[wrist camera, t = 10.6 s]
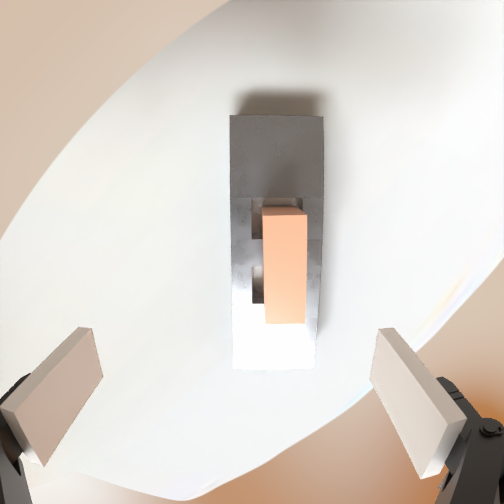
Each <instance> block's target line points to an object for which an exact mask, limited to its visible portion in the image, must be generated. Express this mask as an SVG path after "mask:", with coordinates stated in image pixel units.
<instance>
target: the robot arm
mask: <svg viewBox="0 0 504 504" xmlns="http://www.w3.org/2000/svg"><path fill="white" fill-rule="evenodd" d="M102 378H103V373H102V370H101V366H100V362H99V358H98V354H97V350H96V345H95V341H94V337H93V332H92V328H83V327H78V328H77V329H76V330H75V331H74V332H73V333H72V334H71V335H70V336H69V337H68V338H67V339H66V340H65V341H63V342H62V343H61V344H60V345H59V346H58V347H57V348H56V349H55V350H54V351H53V352H52V353H51V354H50V355H49V356H48V357H47V358H46V359H45V360H44V361H43V362H42V363H41V364H40V365H39V366H38V367H37V368H36V369H35V370H34V371H33V372H32V373H29V374H27V375H25V376H23V377H22V378H20V379H19V380H18V381H17V382H16V383H15V384H14V386H12V387H11V388H10V389H9V392H8V391H7V392H6V393H5V394H4V395H3V397H2V398H1V399H0V504H32V501H31V497H30V493H29V489H28V485H27V481H26V477H25V473H24V468H23V464H22V461H21V459H20V458H19V456H20V454H21V453H22V452H23V453H24V454H25V456H26V458H27V459H28V461H29V462H31V463H34V464H36V465H39V466H42V467H45V465H46V463H47V462H48V460H49V459H50V457H51V455H52V454H53V452H54V451H55V449H56V448H57V446H58V444H59V443H60V441H61V440H62V438H63V437H64V435H65V433H66V432H67V430H68V429H69V427H70V426H71V424H72V423H73V421H74V420H75V418H76V417H77V415H78V414H79V412H80V410H81V409H82V407H83V406H84V404H85V403H86V401H87V400H88V399H89V397H90V396H91V394H92V393H93V391H94V390H95V388H96V387H97V385H98V384H99V382H100V381H101V379H102ZM370 381H371V383H372V385H373V386H374V388H375V390H376V392H377V394H378V396H379V398H380V400H381V402H382V403H383V405H384V407H385V409H386V411H387V413H388V415H389V417H390V419H391V421H392V423H393V425H394V427H395V429H396V431H397V433H398V435H399V437H400V438H401V441H402V443H403V445H404V446H405V449H406V451H407V453H408V455H409V457H410V459H411V461H412V463H413V465H414V467H415V469H416V471H417V473H418V475H419V477H420V479H424V478H427V477H430V476H434V475H437V474H439V473H440V471H441V469H442V467H443V466H444V464H446V466H447V468H448V469H449V471H448V473H447V474H446V476H445V478H444V480H443V481H442V483H441V484H440V486H439V487H438V488H440V489H441V490H440V492H439V495H438V497H437V500H436V502H435V504H504V427H503V425H502V424H501V423H500V422H498V421H497V420H494V419H492V418H482V417H481V416H480V415H479V414H478V412H477V411H476V410H475V409H474V408H473V406H472V405H471V404H470V403H469V402H468V400H467V399H466V398H464V396H463V394H462V393H461V392H459V390H458V389H457V388H456V386H455V385H454V384H453V383H452V382H451V381H449V380H447V379H446V378H444V377H439V378H435V377H434V376H433V374H432V373H431V372H430V371H429V369H428V368H427V367H426V366H425V365H424V363H423V362H422V361H421V360H420V359H419V357H418V356H417V355H416V354H415V353H414V351H413V350H412V349H411V348H410V347H409V345H408V344H407V343H406V342H405V341H404V339H403V338H402V337H401V336H400V335H399V334H398V332H397V331H396V330H395V329H394V328H384V329H378V335H377V341H376V347H375V352H374V358H373V363H372V369H371V374H370Z"/></svg>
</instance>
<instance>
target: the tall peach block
mask: <svg viewBox="0 0 504 504" xmlns="http://www.w3.org/2000/svg"><path fill="white" fill-rule="evenodd" d="M262 230H263V289H264V317H265V325H277V324H305V315H306V281H307V215H306V214H305V213H304V212H303V211H301V210H300V209H299V208H298V207H295V206H294V205H267V206H262Z"/></svg>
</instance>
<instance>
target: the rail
mask: <svg viewBox="0 0 504 504" xmlns="http://www.w3.org/2000/svg"><path fill="white" fill-rule="evenodd" d="M323 193H324V136H323V117H319V116H296V115H230V213H231V266H232V305H233V338H234V366H235V369H288V368H313V367H314V357H315V346H316V335H317V322H318V309H319V294H320V278H321V258H322V234H323ZM267 205H294V206H295V207H298V208H299V209H300V210H301V211H303V212H304V213H305V214H306V215H307V281H306V315H305V324H277V325H265V317H264V289H263V230H262V206H267Z"/></svg>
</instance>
